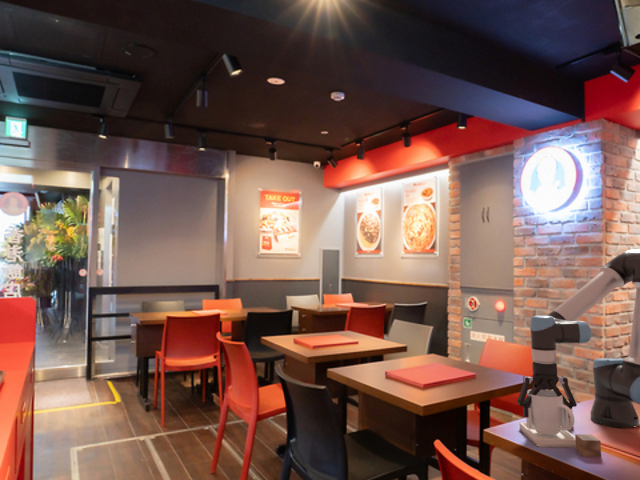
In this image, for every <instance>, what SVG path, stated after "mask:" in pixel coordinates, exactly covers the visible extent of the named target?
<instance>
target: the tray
mask: <svg viewBox="0 0 640 480" xmlns="http://www.w3.org/2000/svg"><path fill="white" fill-rule="evenodd" d="M519 430H520V431H521V433H523V435H525V436H526V437H527V438H528V439H529V440H530V442H532V443H533V444H534V446H536V447H537V446H538V447H537V448H566V449H567V448H571V449H572V448H574V449H576V440H575V435H574V434H572V433H571V432H570V431H569V430H560V431H559V433H558V434H556V435H544V434H540V433H538V432H537V431H536V430H535V429H534V427H533V425H532V428H529V427H528V426H527V422H519Z"/></svg>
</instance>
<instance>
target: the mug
mask: <svg viewBox="0 0 640 480" xmlns="http://www.w3.org/2000/svg"><path fill="white" fill-rule="evenodd" d="M531 390H532V389H531V388H530V389H528V391H527V394H526V397H527V396H531V398H532V403H531V404H530V406H529V407H530V408H531V417H532V425H533V427H534V429H535V430H536V431H537V432H538V433H540V434H544V435H556V434H558V433H559V431H560V430H567V431H570V430H571V429H573V428H574V427H575V426H574V425H575V416H574V415H575V414H574V412H572V411H571V409H570V408H569V407H568V406H566V405H564V404H563V396H564V394H562V395H561V396H559V397H558V396H557V395H556V393H555V392H554V391H553V390H547V389H546V390H540V391H539V392H538V393H537V395H536V396H535V395H532V394H529V393H530V391H531ZM563 408H564V409H565V410H566V411H567V412H568V414H569V416H570V425H569V426H568V427H566V428H564V427H562V423H563V415H564V409H563ZM572 427H573V428H572Z"/></svg>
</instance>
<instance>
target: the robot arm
mask: <svg viewBox="0 0 640 480" xmlns="http://www.w3.org/2000/svg"><path fill="white" fill-rule="evenodd" d="M628 283H629V284H630V283H631V284H632V285H633V286H634V287H635V288H636V292H635V301H634V309H633V317H632V326H631V335H630V340H629V342H630V343H629V349H628V356H627V357H624V358H619V357H618V358H615V357H613V358H611V357H610V358H609V357H607V358H604V357H603V358H601V357H599V358H595V359H594V360H593V361H592V362H593V363H592V372H593V384H594V385H593V388H594V400H593V404H592V407H591V409H590V419H591V421H593V422H595V423H597V424H600V425H603V426H608V427H612V428H619V427H634V426H638V425H639V426H640V418H639V416H638V412H637V411H636V408H635V406H634V404H633V402H634V403H636V404H637V405H640V248H633V249H632V248H631V249H628V250H626V251H625V250H624V251H623V252H621V253H620V254H618V255H616V256H615V257H613V258H612V259H611V260H609V261H608V262H607V263H605V264H604V265H603V266H601V268H600V269H599V273H598V274H596V275H595V276H594V277H592V278H591V279H590V280H589V281H588V282H586V283H585V284H584V285H583V286H582V287H581V288H579V289H578V290H577V291H576V292H574V293H573V294H572V295H571V296H570V297H568V298H567V299H566V300H565V301H563V302H562V303H561V304H560V305H558V306H557V307H556V308H555V309H554V310H553V311H551V312H549V314H547V315H533V316H531V318H530V324H529V325H530V327H529V331H530V341H531V359H532V375H531V376H526V375H524V376H522V378H523V379H522V380H523V381H522V382H523V383H522V386H521V389H520V392H519V394H518V396H517V397H518V398H517V401H516V403H517V404H518V405H519V406H520V407H522V411H523V412H522V413H523V417H525V418H526V423H527V426H528V427H529V428H532V417H531V408H530V407H529V406H530V404H531V403H532V398H531V396H527V391H528V390H529V388H530V384H532V382H533V383H534V384H533V386H532V390H531V389H530V390H531V391H530V393H529V394H532V395H535V396H536V395H537V393H538V392H539V391H540V390H546V389H547V390H553V391H554V392H555V393H556V395H557V396H558V397H559V396H561V395H563V393H562V391H561V390H560V389H559V387H558V386H557V384H558V383H560V384H561V386H562V388H563V391H564V393H565V395H566V397H567V398H566V397H565V396H564V395H563V404H564V405H566V406H568V407H569V408H570V409H572V410H573V408H577V406H578V404H577V402H576V399H575V397H574V396H573V395H574V394H573V392H572V390H571V388H570V386H569V380H568V378H567V377H566V376H558V365H557V359H558V358H557V345H558V344H578V345H579V344H584V343H585V344H587V343H588V342H589V341H590V340H591V338H592V329H591V327H590V325H589V324H588V323H587V322H586V321H584V320H578V319H579V318H581V317H582V316H584V315H585V314H586V313H587V312H588V311H589V310H591V309H592V308H593V307H594V306H596V305H597V304H598V303H599V302H600V301H602V300H603V299H604V298H606V297H607V296H608V295H609V294H611V293H612V292H613V291H615V289H616V288H623V287H624V286H625V285H627V284H628ZM563 409H564V408H563ZM569 418H570V416H569V414H568V412H567V411H566V410H565V409H564V415H563V426H564V427H565V428H566V427H568V426H569ZM639 426H638V427H639Z"/></svg>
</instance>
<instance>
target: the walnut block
mask: <svg viewBox="0 0 640 480" xmlns="http://www.w3.org/2000/svg"><path fill="white" fill-rule="evenodd" d="M574 436H575V440H576V448H575V450H576V452H578V454H580V455H581V456H582V457H584V458H602V448H601V440H600V439H599V438H597V437H596V436H595V435H593V434H584V433H583V434H581V433H579V434H576V433H575V434H574Z"/></svg>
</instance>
